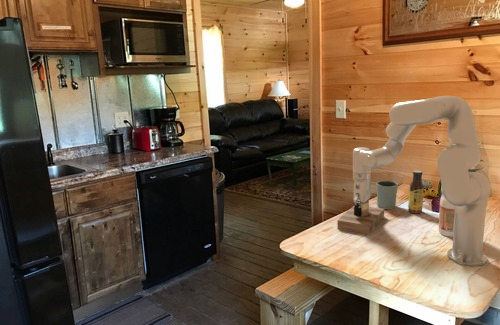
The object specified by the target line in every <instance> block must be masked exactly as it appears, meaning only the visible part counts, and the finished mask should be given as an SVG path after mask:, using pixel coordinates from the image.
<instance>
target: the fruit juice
mask: <svg viewBox="0 0 500 325" xmlns="http://www.w3.org/2000/svg"><path fill="white" fill-rule="evenodd" d="M440 187H441V188H440V191H441V195H440V196H441V197H440V198H439V212H438V213H439V216H438V232H439V234H441V235H443V236H445V237H450V238H453V229H454V213H455V206H454V205H452V204H450V203H449V202H448V201H447V200H446V198H445V196H444V194H443V190H442V185H441V186H440Z"/></svg>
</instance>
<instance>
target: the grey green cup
mask: <svg viewBox="0 0 500 325" xmlns="http://www.w3.org/2000/svg"><path fill="white" fill-rule="evenodd" d="M398 187H399V184H398V182H396V181H393V180H379V181H377V182H376V198H377V199H376V206H377V208H381V209H384V210H393V209H395V208H396V203H397V193H398Z"/></svg>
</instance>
